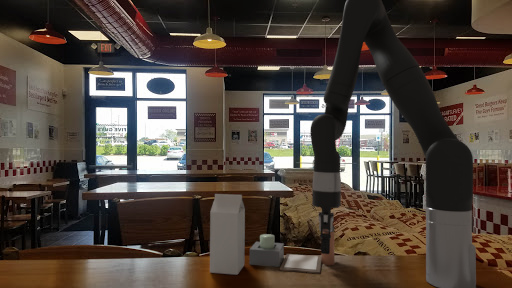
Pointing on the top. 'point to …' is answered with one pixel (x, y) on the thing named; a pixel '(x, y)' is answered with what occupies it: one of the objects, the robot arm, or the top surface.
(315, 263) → the picture frame
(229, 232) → the milk carton
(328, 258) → the pink capped bottle
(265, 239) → the button
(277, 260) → the button box
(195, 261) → the top surface
